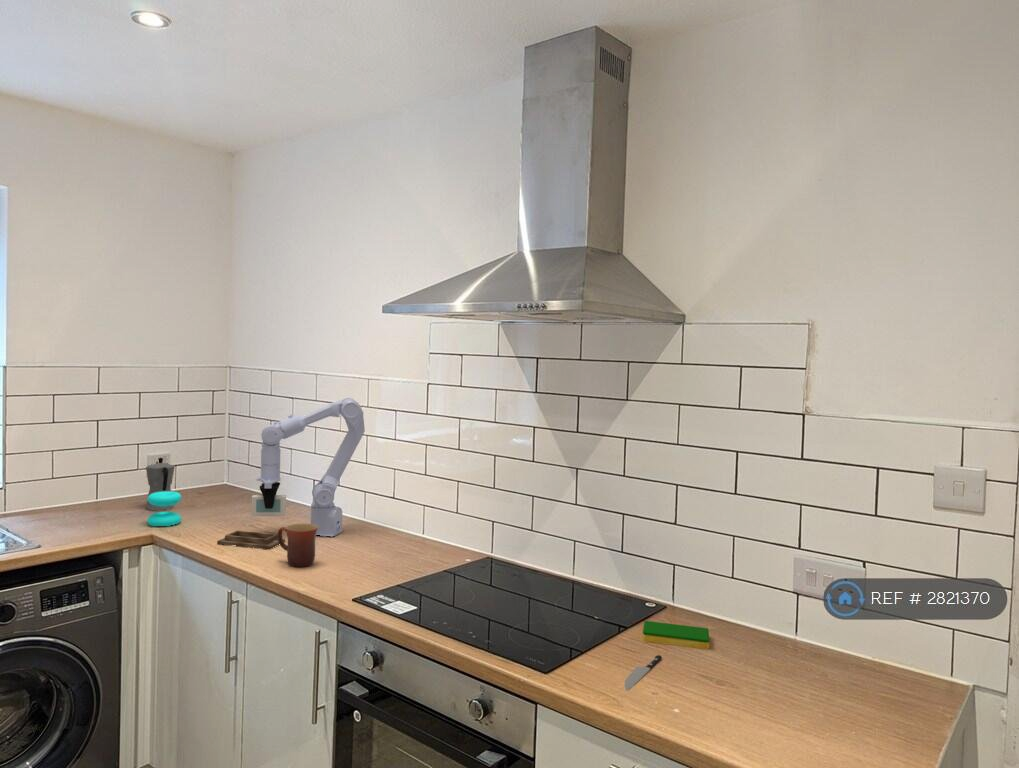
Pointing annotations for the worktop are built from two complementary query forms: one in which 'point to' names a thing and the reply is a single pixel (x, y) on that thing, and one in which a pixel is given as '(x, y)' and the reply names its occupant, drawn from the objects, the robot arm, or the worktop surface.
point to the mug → (299, 543)
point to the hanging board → (251, 539)
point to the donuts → (166, 516)
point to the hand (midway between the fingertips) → (269, 507)
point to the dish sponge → (676, 634)
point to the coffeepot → (159, 481)
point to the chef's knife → (640, 673)
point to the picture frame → (260, 509)
